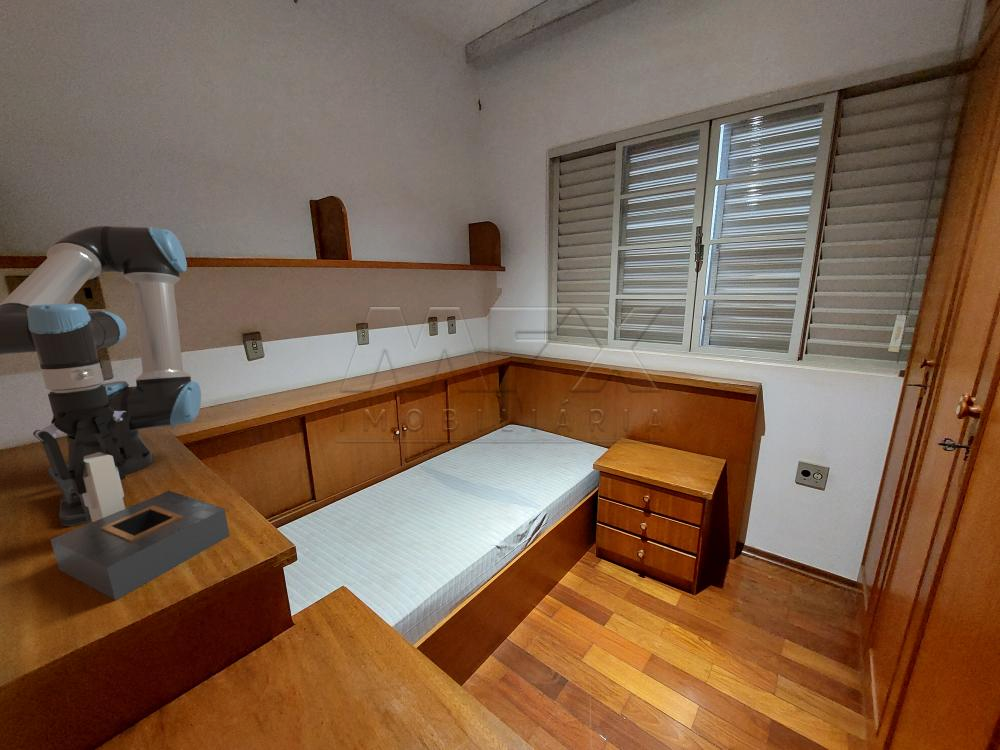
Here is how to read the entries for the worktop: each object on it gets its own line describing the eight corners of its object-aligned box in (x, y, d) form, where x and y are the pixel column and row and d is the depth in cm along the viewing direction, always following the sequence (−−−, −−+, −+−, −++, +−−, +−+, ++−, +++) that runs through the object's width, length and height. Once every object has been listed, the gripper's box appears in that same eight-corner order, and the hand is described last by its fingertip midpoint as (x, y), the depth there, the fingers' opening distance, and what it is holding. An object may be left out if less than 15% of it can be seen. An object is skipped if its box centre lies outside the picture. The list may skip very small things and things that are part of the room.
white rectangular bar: (94, 532, 81) (75, 458, 77) (116, 522, 84) (99, 451, 80) (108, 538, 79) (89, 463, 75) (129, 528, 82) (112, 455, 78)
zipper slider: (94, 455, 101) (116, 484, 87) (100, 479, 103) (122, 511, 88) (42, 468, 95) (55, 502, 80) (49, 493, 96) (64, 531, 81)
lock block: (59, 569, 70) (49, 538, 68) (174, 516, 86) (168, 489, 85) (115, 600, 63) (106, 565, 62) (229, 535, 79) (224, 507, 78)
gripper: (20, 401, 66) (56, 528, 71) (141, 379, 80) (164, 485, 86) (0, 397, 69) (36, 519, 74) (120, 376, 83) (143, 479, 89)
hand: (105, 500), depth 80 cm, fingers closed on white rectangular bar, 3 cm apart
